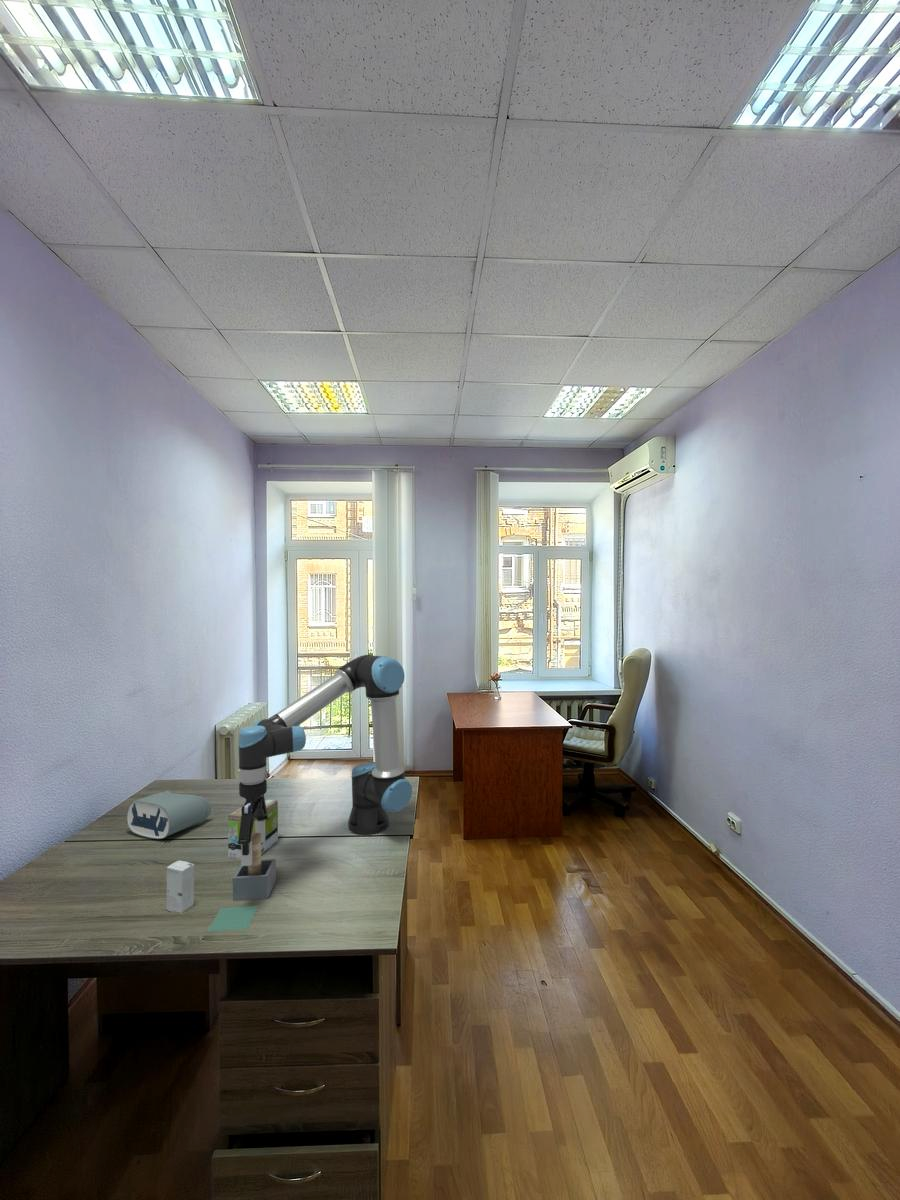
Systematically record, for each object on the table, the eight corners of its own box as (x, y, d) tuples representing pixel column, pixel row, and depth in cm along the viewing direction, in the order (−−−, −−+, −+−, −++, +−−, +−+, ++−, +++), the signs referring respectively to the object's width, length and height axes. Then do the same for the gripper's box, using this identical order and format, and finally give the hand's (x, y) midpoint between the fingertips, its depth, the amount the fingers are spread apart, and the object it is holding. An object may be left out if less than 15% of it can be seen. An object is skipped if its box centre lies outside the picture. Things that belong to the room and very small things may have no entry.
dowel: (263, 886, 154) (262, 832, 153) (259, 893, 150) (258, 838, 150) (250, 887, 153) (249, 833, 153) (247, 894, 150) (246, 838, 150)
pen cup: (276, 882, 157) (275, 859, 157) (267, 900, 147) (267, 876, 147) (243, 884, 156) (243, 860, 156) (233, 902, 146) (232, 878, 146)
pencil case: (125, 834, 191) (126, 798, 191) (170, 815, 208) (171, 783, 209) (168, 843, 182) (169, 806, 183) (212, 824, 200) (212, 790, 200)
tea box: (255, 861, 169) (253, 816, 169) (227, 859, 171) (226, 814, 171) (279, 840, 184) (278, 798, 184) (253, 838, 186) (252, 797, 186)
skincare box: (165, 910, 143) (164, 867, 143) (179, 901, 148) (178, 859, 147) (182, 915, 141) (181, 871, 141) (195, 906, 145) (194, 863, 145)
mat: (258, 907, 144) (258, 905, 144) (247, 931, 134) (247, 928, 134) (221, 910, 143) (220, 908, 143) (207, 933, 133) (207, 931, 133)
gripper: (252, 767, 163) (253, 834, 164) (224, 797, 139) (225, 876, 139) (276, 766, 164) (277, 833, 164) (253, 796, 139) (254, 875, 139)
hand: (253, 853), depth 151 cm, fingers open, 13 cm apart
